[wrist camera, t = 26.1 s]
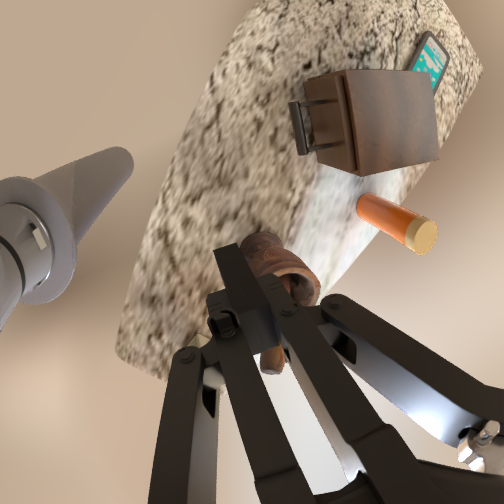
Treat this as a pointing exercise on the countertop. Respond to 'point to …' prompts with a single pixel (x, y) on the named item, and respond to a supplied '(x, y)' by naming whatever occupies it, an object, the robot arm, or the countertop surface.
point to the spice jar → (398, 222)
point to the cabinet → (390, 118)
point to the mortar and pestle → (290, 274)
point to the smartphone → (430, 59)
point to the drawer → (326, 123)
